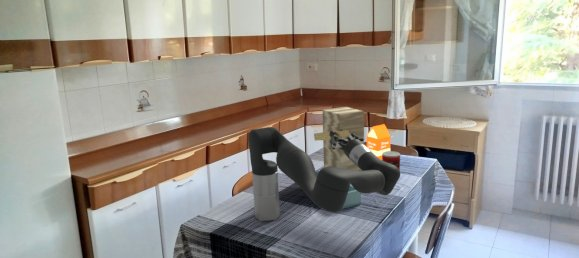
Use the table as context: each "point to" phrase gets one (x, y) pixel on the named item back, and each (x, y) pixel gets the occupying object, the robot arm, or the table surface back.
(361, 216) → the table surface
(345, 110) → the birch stand
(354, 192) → the open teal box
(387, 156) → the canned food
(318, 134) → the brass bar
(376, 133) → the orange juice
